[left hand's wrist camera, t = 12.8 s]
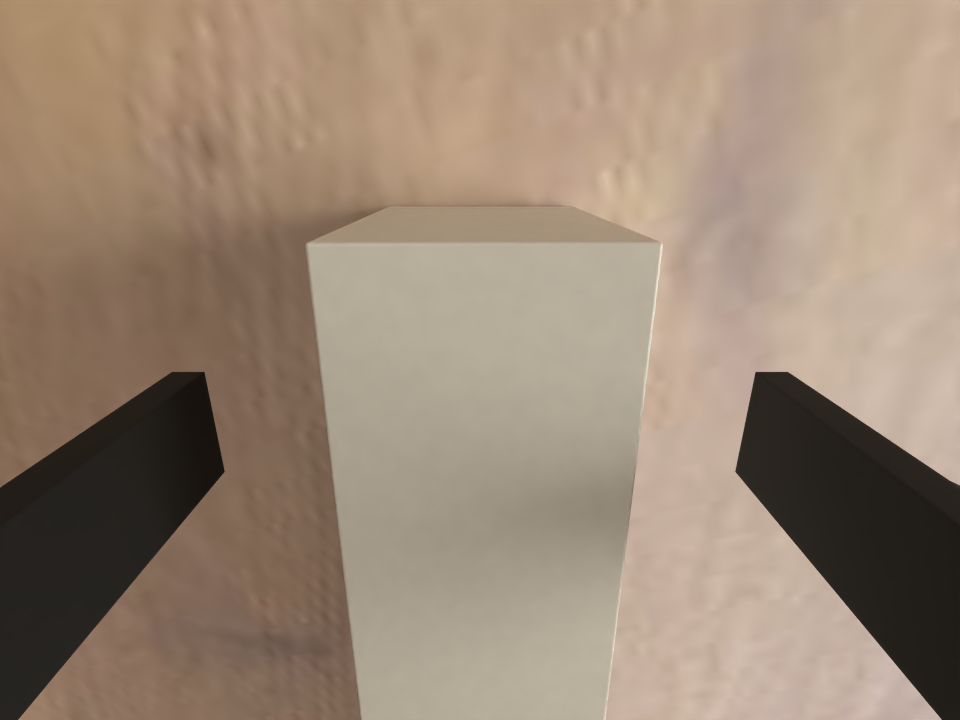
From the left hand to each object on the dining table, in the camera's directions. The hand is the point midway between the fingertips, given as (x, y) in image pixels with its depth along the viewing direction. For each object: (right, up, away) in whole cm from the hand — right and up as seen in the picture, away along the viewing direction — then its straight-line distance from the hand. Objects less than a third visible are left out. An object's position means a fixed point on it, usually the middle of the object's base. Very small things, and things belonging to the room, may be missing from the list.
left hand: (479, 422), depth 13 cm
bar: (0, -26, +15) cm, 30 cm away
